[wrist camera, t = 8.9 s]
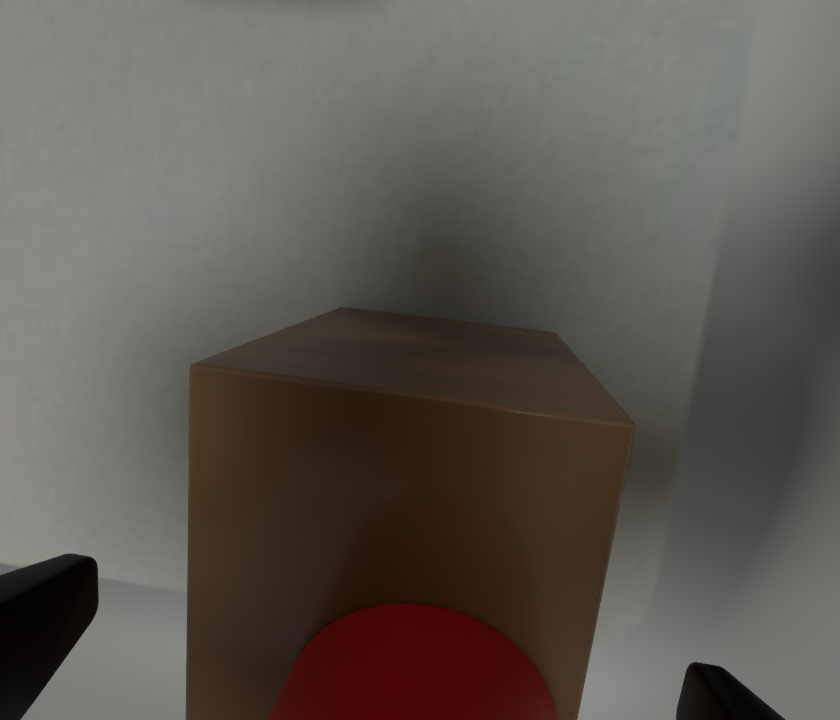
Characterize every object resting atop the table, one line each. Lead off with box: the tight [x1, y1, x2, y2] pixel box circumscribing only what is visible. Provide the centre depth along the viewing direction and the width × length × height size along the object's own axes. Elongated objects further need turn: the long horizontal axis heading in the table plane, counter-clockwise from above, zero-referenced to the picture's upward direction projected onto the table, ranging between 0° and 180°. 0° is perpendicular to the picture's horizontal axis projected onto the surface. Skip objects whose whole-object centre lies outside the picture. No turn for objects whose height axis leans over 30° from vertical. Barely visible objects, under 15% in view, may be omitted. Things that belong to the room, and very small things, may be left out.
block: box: [186, 307, 635, 720], centre depth 13 cm, size 7×7×9 cm
